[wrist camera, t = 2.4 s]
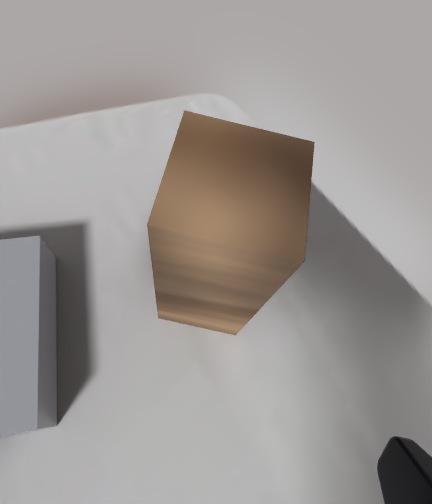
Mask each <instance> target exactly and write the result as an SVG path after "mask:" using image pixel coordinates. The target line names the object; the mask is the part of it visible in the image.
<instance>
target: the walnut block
mask: <svg viewBox="0 0 432 504" xmlns="http://www.w3.org/2000/svg"><path fill="white" fill-rule="evenodd" d="M313 152H314V142H312V141H308V140H303V139H299V138H295V137H291V136H287V135H283V134H279V133H275V132H270V131H266V130H262V129H258V128H254V127H250V126H246V125H242V124H238V123H233V122H229V121H225V120H221V119H217V118H213V117H209V116H205V115H201V114H196V113H192V112H188V111H184V113H183V117H182V120H181V123H180V126H179V129H178V132H177V135H176V138H175V141H174V144H173V147H172V150H171V153H170V156H169V159H168V162H167V166H166V169H165V172H164V175H163V178H162V181H161V184H160V187H159V190H158V193H157V196H156V199H155V202H154V205H153V208H152V212H151V215H150V218H149V221H148V224H147V227H148V235H149V244H150V252H151V260H152V269H153V277H154V286H155V294H156V302H157V311H158V318H161V319H165V320H170V321H174V322H179V323H183V324H188V325H192V326H197V327H201V328H206V329H210V330H215V331H219V332H224V333H228V334H233V335H236V334H237V333H238V332H239V331H240V330H241V329H242V328H243V327H244V326H245V325H246V323H247V322H248V321H249V320H250V319H251V318H252V317H253V316H254V315H255V314H256V313H257V312H258V311H259V309H260V308H261V307H262V306H263V305H264V304H265V303H266V302H267V301H268V300H269V299H270V298H271V297H272V295H273V294H274V293H275V292H276V291H277V290H278V289H279V288H280V287H281V286H282V285H283V284H284V283H285V281H286V280H287V279H288V278H289V277H290V276H291V275H292V274H293V273H294V272H295V271H296V270H297V269H298V267H299V266H300V265H301V264H302V263H303V262H304V261H305V251H306V238H307V226H308V214H309V202H310V189H311V176H312V165H313Z"/></svg>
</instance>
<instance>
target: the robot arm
mask: <svg viewBox="0 0 432 504" xmlns="http://www.w3.org/2000/svg"><path fill="white" fill-rule="evenodd" d="M377 470H378V476H379V481H380V485H381V490H382V494H383V499H384V503H385V504H432V457H431V456H430V455H428V454H427V453H426V452H425V451H424V450H423V449H422V448H421V447H420V446H419V445H417V444H416V443H415V442H414V441H412V440H410V439H407V438H402V437H397V436H394V437H392V438H390V440H389V442H388V443H387V445H386V447H385V449H384V451H383V453H382V455H381V456H380V458H379V460H378V465H377Z"/></svg>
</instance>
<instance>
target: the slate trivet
mask: <svg viewBox="0 0 432 504" xmlns="http://www.w3.org/2000/svg"><path fill="white" fill-rule="evenodd" d="M53 426H57V338H56V256H55V255H54V253H53V252H52V251H51V249H50V248H49V247H48V245H47V244H46V243H45V241H44V240H43V239H42V237H41V236H30V237H21V238H11V239H2V240H0V438H1V437H5V436H10V435H15V434H20V433H24V432H29V431H34V430H39V429H43V428H48V427H53Z"/></svg>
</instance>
